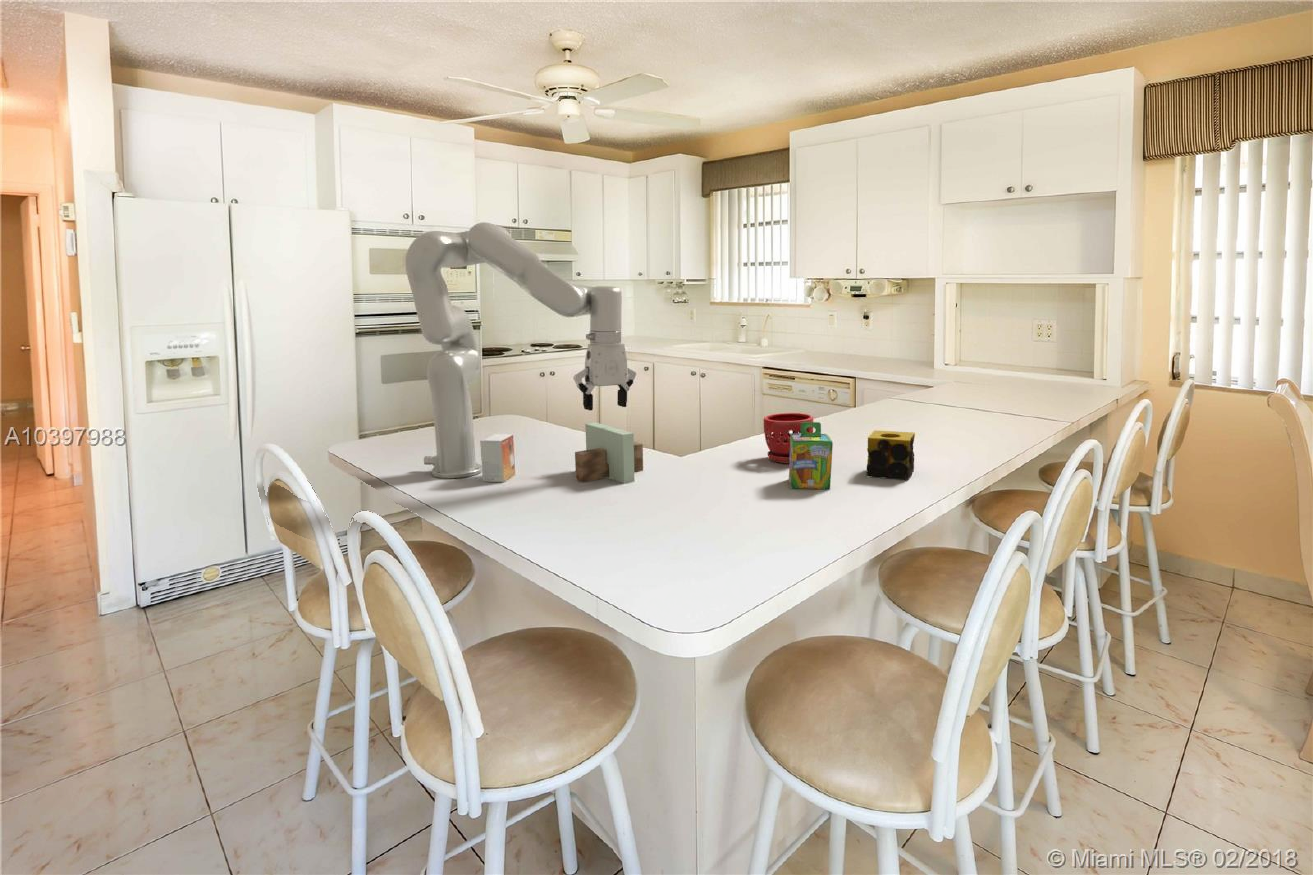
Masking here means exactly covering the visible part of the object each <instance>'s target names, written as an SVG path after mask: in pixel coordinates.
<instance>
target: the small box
mask: <svg viewBox="0 0 1313 875" xmlns="http://www.w3.org/2000/svg"><path fill="white" fill-rule="evenodd" d="M479 443H480V456H481V458H480V459H481V461H480V462H481V466H482V471H481V473H482V482H485V483H487V482H488V483H504V482H506V481H507V480H508V479H510V478H512V477H514V476H516V466H515V463H516V462H515V444H514V443H515V442H514V435H513V434H505V433H504V434H503V433H501V434H500V433H493V434H491V435H489V436H487V437H486V438H484V439H483V438H482V439H481V440H479Z"/></svg>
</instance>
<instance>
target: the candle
mask: <svg viewBox="0 0 1313 875" xmlns="http://www.w3.org/2000/svg"><path fill="white" fill-rule="evenodd" d="M915 435H916V432H913V431H911V432H910V431H909V432H908V431H893V430H873V431H872V433H871V434H870V435H868V437H867V448H866V449H867V464H866V477H868V476H872V477H871V478H879V477H880V478H881V479H889V480H892V479H893V480H899V479H900V480H902V481H908V480H910V478H911V477H912V475H913V472H914V471H915V452H914V442H915ZM873 476H874V477H873Z"/></svg>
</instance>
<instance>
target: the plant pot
mask: <svg viewBox="0 0 1313 875" xmlns="http://www.w3.org/2000/svg"><path fill="white" fill-rule="evenodd" d="M802 422H814V417H813V416H812V415H811V414H807V413H800V412H798V413H797V412H786V413H785V412H784V413H783V412H782V413H772V414H769V415H766V416H764V417H763V434H764V439H765V443H766V446H767V447H768V449H769V451H768V452H767V457H768V458H769V460H771V461H772V462H776V463H781V464H783V465H785V464H790V434H791V433H790V431H791V432H792V433H801V423H802ZM806 431H807V432H808V433H814V427H808V428H807V429H806Z"/></svg>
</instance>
